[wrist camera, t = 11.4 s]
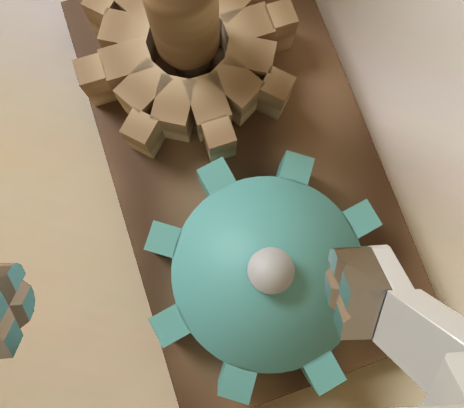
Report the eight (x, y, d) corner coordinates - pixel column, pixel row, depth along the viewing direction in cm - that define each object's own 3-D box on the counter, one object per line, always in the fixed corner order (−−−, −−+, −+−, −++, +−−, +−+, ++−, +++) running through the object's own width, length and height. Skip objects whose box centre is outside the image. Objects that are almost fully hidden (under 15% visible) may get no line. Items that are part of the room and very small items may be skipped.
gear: (217, 434, 19) (216, 470, 16) (113, 226, 21) (92, 216, 17) (415, 316, 20) (454, 325, 17) (302, 128, 22) (317, 100, 18)
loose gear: (120, 191, 21) (21, 112, 11) (65, 6, 23) (-65, -217, 12) (321, 128, 22) (411, -2, 12) (254, -47, 24) (279, -294, 13)
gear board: (188, 420, 21) (182, 449, 17) (70, 18, 24) (45, -24, 21) (435, 329, 22) (475, 340, 18) (285, -42, 25) (296, -91, 22)
